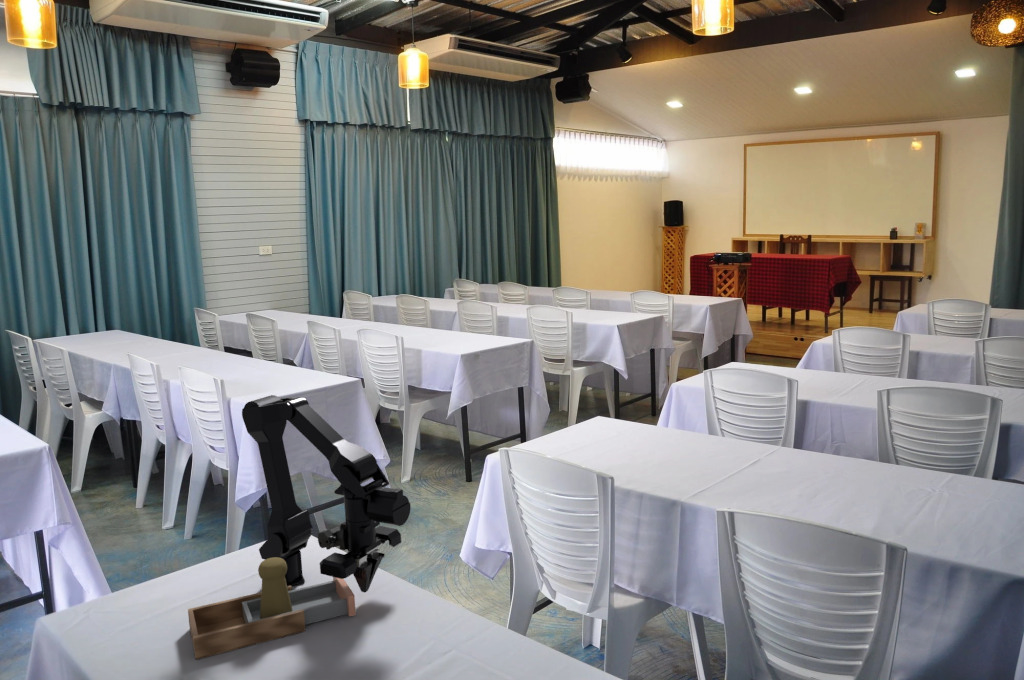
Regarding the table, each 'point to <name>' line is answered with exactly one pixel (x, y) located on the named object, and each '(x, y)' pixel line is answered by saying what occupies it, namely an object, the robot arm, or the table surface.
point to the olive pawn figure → (274, 588)
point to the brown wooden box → (237, 626)
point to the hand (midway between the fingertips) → (364, 591)
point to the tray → (312, 602)
